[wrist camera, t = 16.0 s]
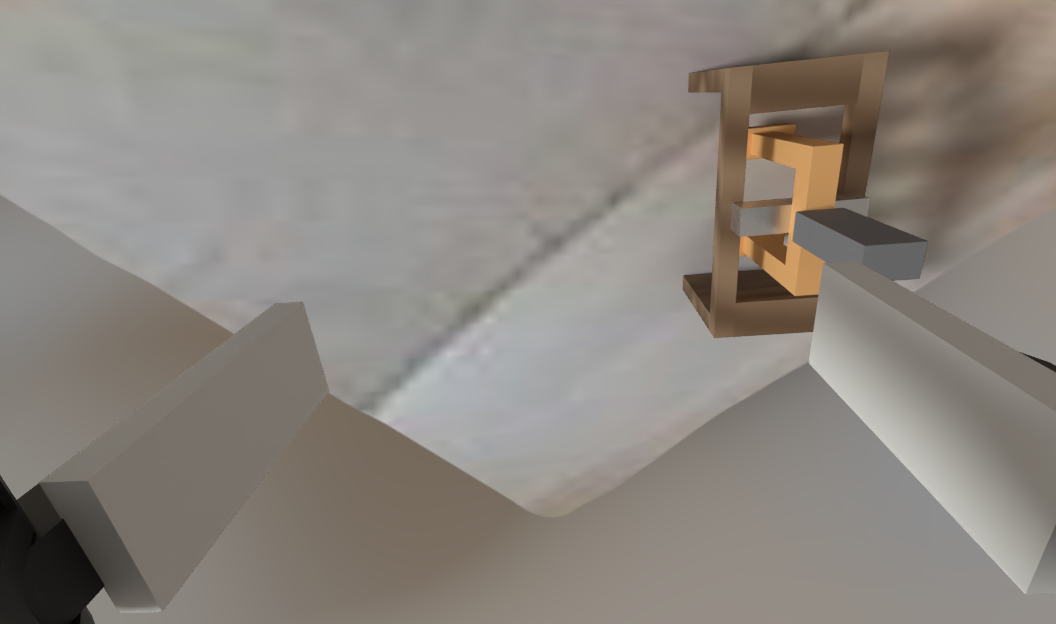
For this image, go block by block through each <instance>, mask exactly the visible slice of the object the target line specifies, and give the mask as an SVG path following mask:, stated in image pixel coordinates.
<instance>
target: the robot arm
mask: <svg viewBox="0 0 1056 624" xmlns="http://www.w3.org/2000/svg"><path fill="white" fill-rule="evenodd" d="M809 364H810V365H811V366H812V367H813V368H814V369H815V370H816V371H817V372H818V373H819V374H820V376H822V378H823V379H824V380H825V381H826V382H827V383H828V384H829V385H830V386H831V387H832V388H833V389H834V390H835V391H836V393H837V394H838V395H839V396H840V397H841V398H842V399H843V400H844V401H845V402H846V403H847V404H848V405H849V407H851V409H853V411H854V412H855V413H856V414H857V415H858V416H859V417H860V418H861V419H862V420H863V421H864V422H865V424H866V425H868V427H869V428H870V429H871V430H872V431H873V432H874V433H875V434H876V435H877V436H878V437H879V439H881V441H882V442H883V443H884V444H885V445H886V446H887V447H888V448H889V449H890V450H891V451H892V452H893V453H894V455H895V456H897V458H898V459H899V460H900V461H901V462H902V463H903V464H904V465H905V466H906V467H907V468H908V469H909V471H910V472H912V474H913V475H914V476H915V477H916V478H917V479H918V480H919V481H920V482H921V483H922V484H923V486H924V487H925V488H926V489H927V490H928V491H929V492H930V493H931V494H932V495H933V496H934V497H935V498H936V499H937V500H938V501H939V502H940V504H941V505H942V506H943V507H944V508H945V509H946V510H947V511H948V512H949V513H950V514H951V515H952V516H953V518H954V519H955V520H956V521H957V522H958V523H959V524H960V525H961V526H962V527H963V528H964V529H965V530H966V531H967V532H968V534H969V535H970V536H971V537H972V538H973V539H974V540H975V541H976V542H977V543H978V544H979V545H980V546H981V547H982V548H983V550H985V552H986V553H987V554H988V555H989V556H990V557H991V558H992V559H993V560H994V561H995V562H996V563H997V564H998V565H999V567H1000V568H1001V569H1002V570H1003V571H1004V572H1005V573H1006V574H1007V575H1008V576H1009V577H1010V578H1011V579H1012V581H1013V582H1014V583H1015V584H1016V585H1017V586H1018V587H1019V588H1020V589H1021V590H1022V591H1023V592H1024V593H1025V594H1056V366H1055V365H1053V364H1051V363H1049V362H1047V361H1044V360H1041V359H1038V358H1035V357H1032V356H1030V355H1027V354H1024V353H1021V352H1018V351H1016V350H1015V349H1013V348H1011V347H1009V346H1008V345H1006V344H1004V343H1002V342H1000V341H998V340H997V339H995V338H993V337H991V336H989V335H988V334H986V333H984V332H982V331H981V330H979V329H977V328H975V327H974V326H972V325H970V324H968V323H966V322H965V321H963V320H961V319H959V318H958V317H956V316H954V315H952V314H950V313H949V312H947V311H945V310H943V309H941V308H939V307H938V306H936V305H934V304H933V303H931V302H929V301H927V300H925V299H924V298H922V297H920V296H918V295H917V294H915V293H913V292H911V291H909V290H908V289H906V288H904V287H902V286H900V285H899V284H897V283H895V282H893V281H892V280H890V279H888V278H886V277H884V276H883V275H881V274H879V273H877V272H875V271H874V270H872V269H870V268H868V267H867V266H865V265H863V264H861V263H859V262H858V261H847V262H833V263H823V267H822V274H821V281H820V288H819V295H818V302H817V309H816V316H815V323H814V330H813V337H812V344H811V351H810V358H809ZM328 392H329V388H328V384H327V381H326V378H325V374H324V371H323V368H322V364H321V361H320V358H319V354H318V351H317V347H316V344H315V341H314V337H313V334H312V331H311V327H310V324H309V321H308V317H307V314H306V311H305V307H304V304H303V302H290V303H276V304H274V305H273V306H271V307H270V308H269V309H267V310H266V311H265V312H263V313H262V314H261V315H259V316H258V317H257V318H255V319H254V320H253V321H251V322H250V323H249V324H248V325H246V326H245V327H244V328H242V329H241V330H240V331H238V332H237V333H236V334H234V335H233V336H232V337H230V338H229V339H228V340H226V341H225V342H224V343H222V344H221V345H220V346H219V347H217V348H216V349H214V350H213V351H212V352H211V353H209V354H208V355H207V356H205V357H204V358H203V359H201V360H200V361H199V362H197V363H196V364H195V365H193V366H192V367H191V368H189V369H188V370H187V371H185V372H184V373H183V374H181V375H180V376H179V377H178V378H176V379H175V380H174V381H172V382H171V383H170V384H168V385H167V386H166V387H164V388H163V389H162V390H160V391H159V392H158V393H156V394H155V395H154V396H152V397H151V398H150V399H149V400H147V401H146V402H145V403H143V404H142V405H141V406H139V407H138V408H137V409H135V410H134V411H133V412H131V413H130V414H129V415H127V416H126V417H125V418H123V419H122V420H121V421H119V422H118V423H117V424H115V425H114V426H113V427H112V428H110V429H109V430H108V431H106V432H105V433H104V434H102V435H101V436H100V437H98V438H97V439H96V440H94V441H93V442H92V443H90V444H89V445H88V446H86V447H85V448H84V449H82V450H81V451H80V452H78V454H76V455H75V456H73V457H72V458H71V459H69V460H68V461H67V462H65V463H64V464H63V465H61V466H60V467H59V468H57V469H56V470H55V471H53V472H52V473H51V474H50V475H48V476H47V477H45V478H44V479H43V480H42V481H40V482H39V484H37V485H36V486H35V487H33V488H32V489H31V490H29V491H28V492H27V493H25V494H24V495H23V496H22V497H20V498H19V499H18V500H16V499H15V497H14V496H13V494H12V493H11V491H10V490H9V488H8V486H7V485H6V483H5V482H4V480H3V479H2V477H1V476H0V624H95V623H94V620H93V617H92V615H91V613H90V612H89V610H88V609H87V607H86V606H87V604H89V602H90V601H91V600H92V599H93V598H94V597H95V596H96V595H97V594H98V593H99V591H100V590H101V589H102V588H103V587H104V588H105V590H106V592H107V594H108V595H109V597H110V598H111V600H112V602H113V603H114V605H115V606H116V608H117V610H118V611H119V612H120V613H125V612H162V611H163V610H164V609H165V608H166V607H167V605H168V604H169V602H170V601H171V600H172V599H173V597H174V596H175V595H176V593H177V592H178V591H179V589H180V588H181V587H182V585H183V584H184V583H185V581H186V580H187V579H188V577H189V576H190V575H191V573H192V572H193V571H194V569H195V568H196V567H197V566H198V564H199V563H200V561H201V560H202V559H203V557H204V556H205V555H206V554H207V552H208V551H209V550H210V548H211V547H212V546H213V544H214V543H215V542H216V540H217V539H218V538H219V536H220V535H221V533H222V532H223V531H224V530H225V528H226V527H227V526H228V524H229V523H230V521H231V520H232V519H233V518H234V516H235V515H236V514H237V512H238V511H239V510H240V509H241V507H242V506H243V504H244V503H245V502H246V501H247V499H248V498H249V496H250V495H251V494H252V493H253V491H254V490H255V488H256V487H257V486H258V485H259V483H260V482H261V481H262V479H263V478H264V477H265V475H266V474H267V473H268V471H269V470H270V469H271V467H272V466H273V465H274V463H275V462H276V461H277V459H278V458H279V457H280V455H281V454H282V453H283V452H284V450H285V449H286V448H287V446H288V445H289V443H290V442H291V441H292V440H293V438H294V437H295V436H296V434H297V433H298V432H299V430H300V429H301V428H302V426H303V425H304V424H305V422H306V421H307V420H308V418H309V417H310V416H311V414H312V413H313V412H314V410H315V409H316V408H317V406H318V405H319V404H320V402H321V401H322V400H323V398H324V397H325V396H326V394H327V393H328Z"/></svg>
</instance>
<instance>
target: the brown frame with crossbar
mask: <svg viewBox="0 0 1056 624" xmlns="http://www.w3.org/2000/svg"><path fill="white" fill-rule="evenodd" d="M888 56H889V51H882V52H873V53H864V54H854V55H845V56H835V57H826V58H817V59H807V60H798V61H788V62H779V63H770V64H760V65H751V66H741V67H732V68H724V69H717V70H710V71H702V72H695V73H689V88H688V92H722V93H721V112H720V131H719V150H718V169H717V188H716V207H715V227H714V246H713V265H712V274H699V275H685V276H683V291H684V292H685V294H686V295H687V297H688V298H689V300H690V301H691V303H692V304H693V306H694V308H695V309H696V311H697V312H698V314H699V315H700V317H701V318H702V320H703V321H704V323H705V324H706V326H707V328H708V329H709V331H710V332H711V334H712V335H713V337H714V338H722V337H738V336H754V335H770V334H786V333H802V332H813V330H814V323H815V316H816V309H817V302H818V295H819V294H817V295H802V296H794V295H793V294H792V293H791V292H789V291H788V290H787V289H786V288H785V287H784V286H782V285H781V284H780V283H779V282H778V281H777V280H775V279H774V278H773V277H772V276H771V275H770V274H768V273H767V272H766V271H765V270H754V271H740V272H738V264H739V250H740V237H739V236H738V235H737V234H736V233H734V232H733V231H732V230H731V218H732V203H738V202H743V196H744V182H745V169H746V155H747V142H748V128H749V115H750V114H755V113H765V112H775V111H785V110H795V109H806V108H816V107H826V106H836V105H845V109H844V116H843V123H842V130H841V137H840V143H841V144H844V145H843V152H842V159H841V166H840V172H839V179H838V186H837V193H836V194H844V193H857V194H860V195H863V196H865V192H866V186H867V180H868V174H869V168H870V162H871V156H872V150H873V144H874V138H875V132H876V127H877V121H878V115H879V109H880V103H881V97H882V91H883V85H884V79H885V73H886V68H887V62H888Z"/></svg>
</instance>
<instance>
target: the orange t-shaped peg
mask: <svg viewBox="0 0 1056 624" xmlns="http://www.w3.org/2000/svg"><path fill="white" fill-rule="evenodd" d="M795 132H796V124H790V123H786V124H776V125H765V126H755V127H749V128H748V142H747V155H746V160H747V159H758V158H764V159H767V160H770V161H774V162H777V163H780V164H783V165H786V166H789V167H792V168H796V174H795V183H794V192H793V201H792V210H791V218H790V227H789V236H788V245H787V247H786V246H785V245H783V242H784V233H782V234H769V235H756V236H744V237H740V250H739V257H741V256H748V257H750V258H751V259H752V260H753V261H754V262H755V263H757V264H758V265H759V266H760V267H761V268H762V269H764V270H765V271H766V272H767V273H768V274H770V275H771V276H772V277H773V278H774V279H775V280H777V281H778V282H779V283H780V284H781V285H782V286H784V287H785V288H786V289H787V290H788V291H789V292H791V293H792V294H793V295H794V296H802V295H817V294H819V288H820V281H821V274H822V267H823V263H833V262H847V261H858V262H859V263H861V264H863V265H865V266H867V267H868V268H870V269H872V270H874V271H875V272H877V273H879V274H881V275H883V276H884V277H886V278H888V279H890V280H892V281H895V280H909V279H920V275H921V270H922V266H923V262H924V257H925V253H926V248H927V244H928V241H926V240H924V239H921V238H919V237H916V236H914V235H911V234H909V233H906V232H904V231H901V230H899V229H896V228H894V227H891V226H889V225H886V224H884V223H881V222H879V221H876V220H874V219H871V218H869V217H866V216H864V215H861V214H859V213H856V212H854V211H851V210H849V209H846V208H834V207H835V200H836V193H837V186H838V179H839V172H840V166H841V159H842V152H843V145H844V144H841V143H836V142H830V141H825V140H819V139H814V138H808V137H802V136H797V135H795Z"/></svg>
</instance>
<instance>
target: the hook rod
mask: <svg viewBox="0 0 1056 624" xmlns="http://www.w3.org/2000/svg"><path fill="white" fill-rule="evenodd" d="M792 201H793V198H785V199H773V200H761V201H749V202H738V203H732V218H731V230H732V231H733V232H734V233H736V234H737V235H738V236H739V237H744V236H756V235H769V234H782V233H789V227H790V218H791V210H792ZM869 204H870V198H869V197H866V196H863V195H860V194H857V193H844V194H836V200H835V207H834V208H846V209H849V210H851V211H854V212H856V213H859V214H861V215H864V216H866V217H867V216H868V210H869Z"/></svg>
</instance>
